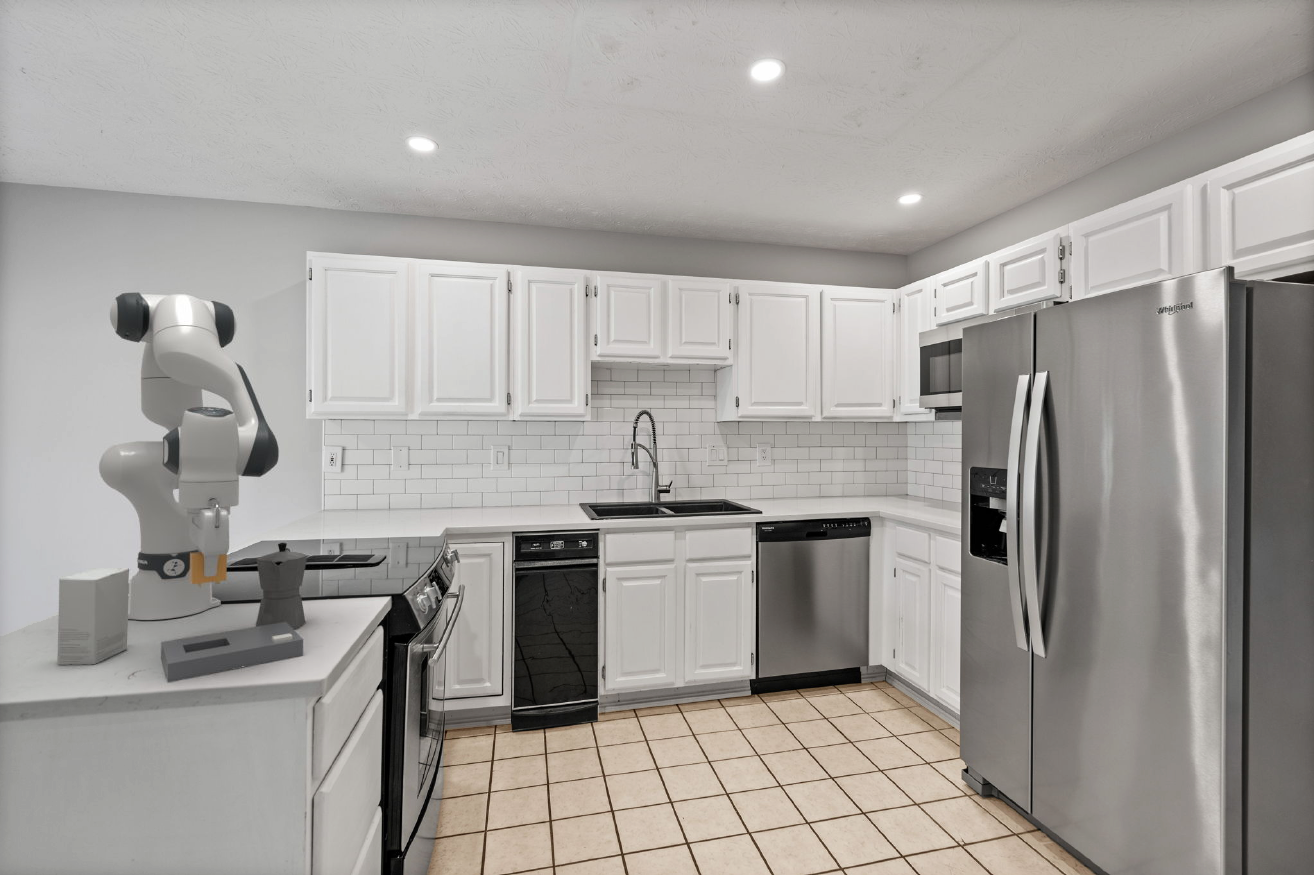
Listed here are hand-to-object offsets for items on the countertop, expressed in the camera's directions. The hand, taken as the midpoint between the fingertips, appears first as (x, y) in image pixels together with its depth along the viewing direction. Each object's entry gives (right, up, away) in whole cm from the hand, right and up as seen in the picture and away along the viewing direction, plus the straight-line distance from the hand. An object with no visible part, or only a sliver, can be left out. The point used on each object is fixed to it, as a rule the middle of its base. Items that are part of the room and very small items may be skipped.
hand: (208, 573), depth 112 cm
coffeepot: (0, -16, +22) cm, 27 cm away
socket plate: (+3, -16, +3) cm, 16 cm away
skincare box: (-22, -16, +1) cm, 27 cm away
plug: (0, -2, 0) cm, 2 cm away
